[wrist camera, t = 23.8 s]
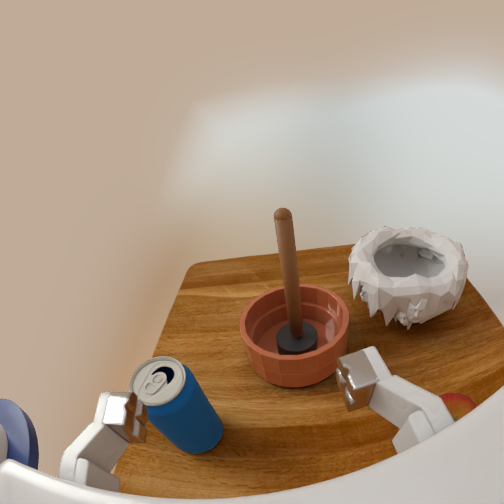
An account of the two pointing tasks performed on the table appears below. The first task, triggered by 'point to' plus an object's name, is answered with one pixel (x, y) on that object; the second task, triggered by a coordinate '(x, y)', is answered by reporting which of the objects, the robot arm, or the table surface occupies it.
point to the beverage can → (176, 404)
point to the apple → (458, 404)
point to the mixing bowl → (275, 316)
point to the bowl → (407, 273)
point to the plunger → (292, 293)
